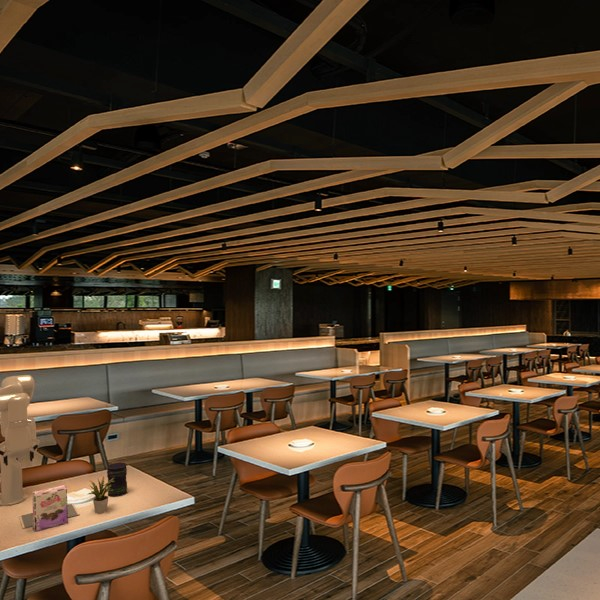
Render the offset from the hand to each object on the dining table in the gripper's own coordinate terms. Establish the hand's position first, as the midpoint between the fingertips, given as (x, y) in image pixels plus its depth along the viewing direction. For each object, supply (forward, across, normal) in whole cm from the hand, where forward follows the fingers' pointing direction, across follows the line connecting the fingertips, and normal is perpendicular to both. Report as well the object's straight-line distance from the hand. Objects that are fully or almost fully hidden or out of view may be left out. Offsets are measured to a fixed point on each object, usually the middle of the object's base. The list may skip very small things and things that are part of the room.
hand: (19, 462), depth 224 cm
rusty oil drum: (+31, -47, -21) cm, 60 cm away
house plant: (+31, -35, -1) cm, 47 cm away
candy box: (+32, -12, 0) cm, 34 cm away
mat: (+31, -13, -12) cm, 36 cm away
